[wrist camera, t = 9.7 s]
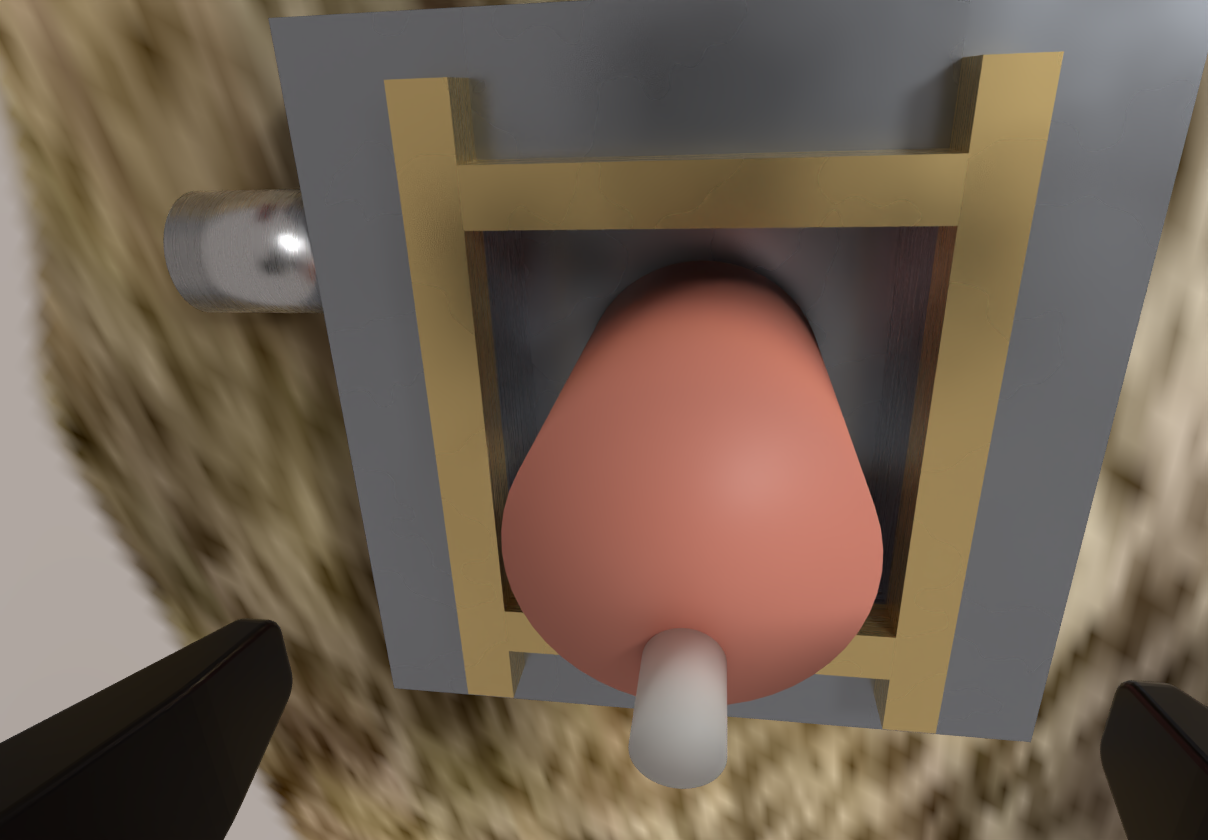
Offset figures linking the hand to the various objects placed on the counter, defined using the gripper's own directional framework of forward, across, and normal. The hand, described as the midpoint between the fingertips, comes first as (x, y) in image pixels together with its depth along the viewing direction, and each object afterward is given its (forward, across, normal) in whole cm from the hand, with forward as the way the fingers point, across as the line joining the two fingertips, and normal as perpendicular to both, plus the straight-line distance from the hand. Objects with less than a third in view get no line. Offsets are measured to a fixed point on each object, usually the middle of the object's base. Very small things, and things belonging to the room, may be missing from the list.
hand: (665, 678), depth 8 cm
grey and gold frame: (+10, +1, 0) cm, 10 cm away
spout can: (+9, 0, 0) cm, 9 cm away
